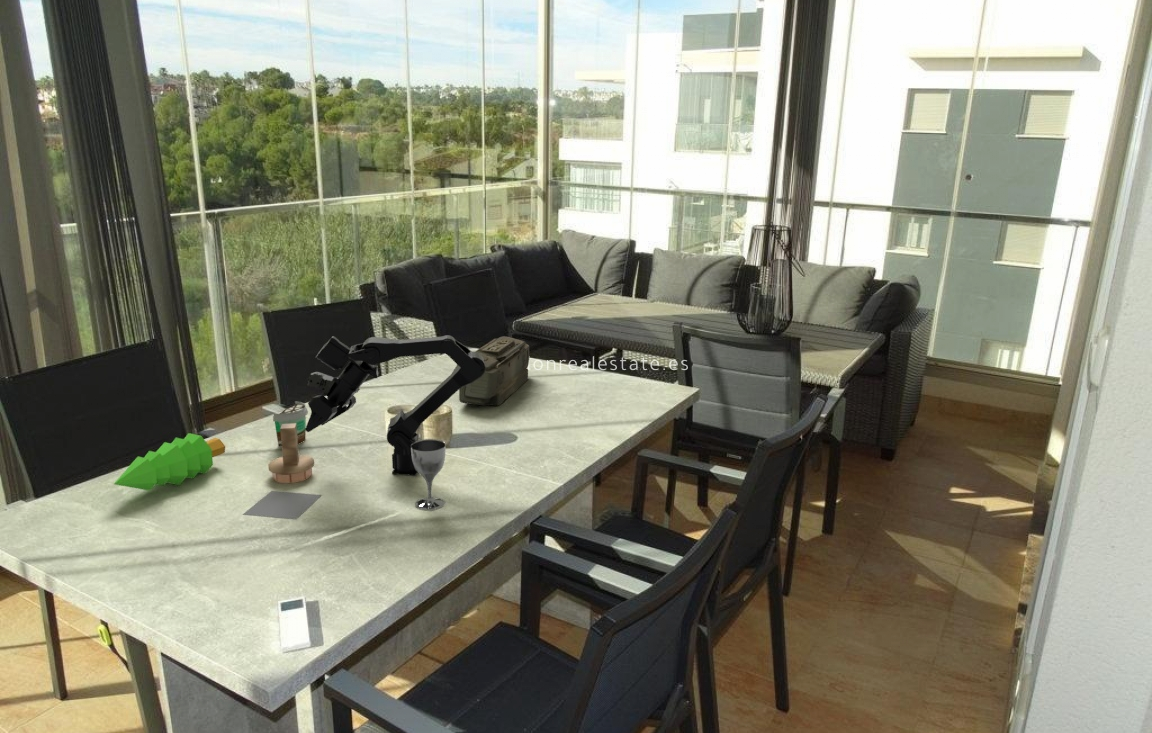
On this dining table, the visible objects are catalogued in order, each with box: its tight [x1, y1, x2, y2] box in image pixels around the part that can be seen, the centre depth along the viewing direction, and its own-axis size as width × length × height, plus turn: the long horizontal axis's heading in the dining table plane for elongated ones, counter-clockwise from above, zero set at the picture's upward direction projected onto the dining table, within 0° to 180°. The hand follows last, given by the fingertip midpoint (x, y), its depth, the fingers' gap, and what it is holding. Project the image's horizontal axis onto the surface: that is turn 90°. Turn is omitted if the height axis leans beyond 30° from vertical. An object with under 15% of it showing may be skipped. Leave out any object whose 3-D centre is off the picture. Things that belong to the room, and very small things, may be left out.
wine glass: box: [411, 438, 447, 511], centre depth 187 cm, size 8×8×15 cm
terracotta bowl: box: [271, 467, 313, 484], centre depth 202 cm, size 9×9×3 cm
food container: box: [272, 401, 309, 447], centre depth 225 cm, size 12×6×10 cm, turn 168°
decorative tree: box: [113, 433, 226, 491], centre depth 195 cm, size 11×12×30 cm
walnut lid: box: [267, 423, 315, 475], centre depth 200 cm, size 11×11×11 cm
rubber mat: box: [242, 490, 323, 520], centre depth 186 cm, size 13×13×1 cm
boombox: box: [458, 336, 530, 407], centre depth 273 cm, size 44×17×20 cm, turn 165°
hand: (313, 427), depth 201 cm, fingers open, 9 cm apart
